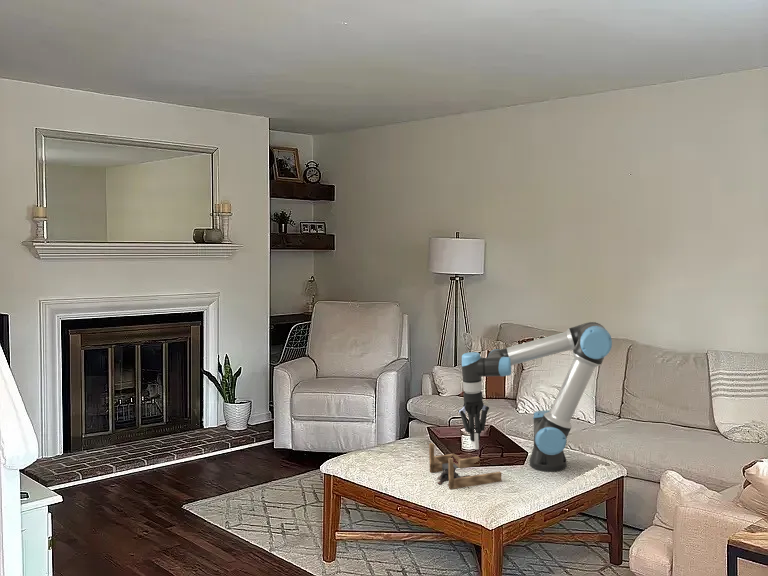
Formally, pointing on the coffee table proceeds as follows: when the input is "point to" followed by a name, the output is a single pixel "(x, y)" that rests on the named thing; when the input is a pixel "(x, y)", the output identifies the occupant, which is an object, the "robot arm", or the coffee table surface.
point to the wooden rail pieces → (462, 463)
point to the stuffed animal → (445, 476)
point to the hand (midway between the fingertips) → (475, 448)
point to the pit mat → (445, 466)
